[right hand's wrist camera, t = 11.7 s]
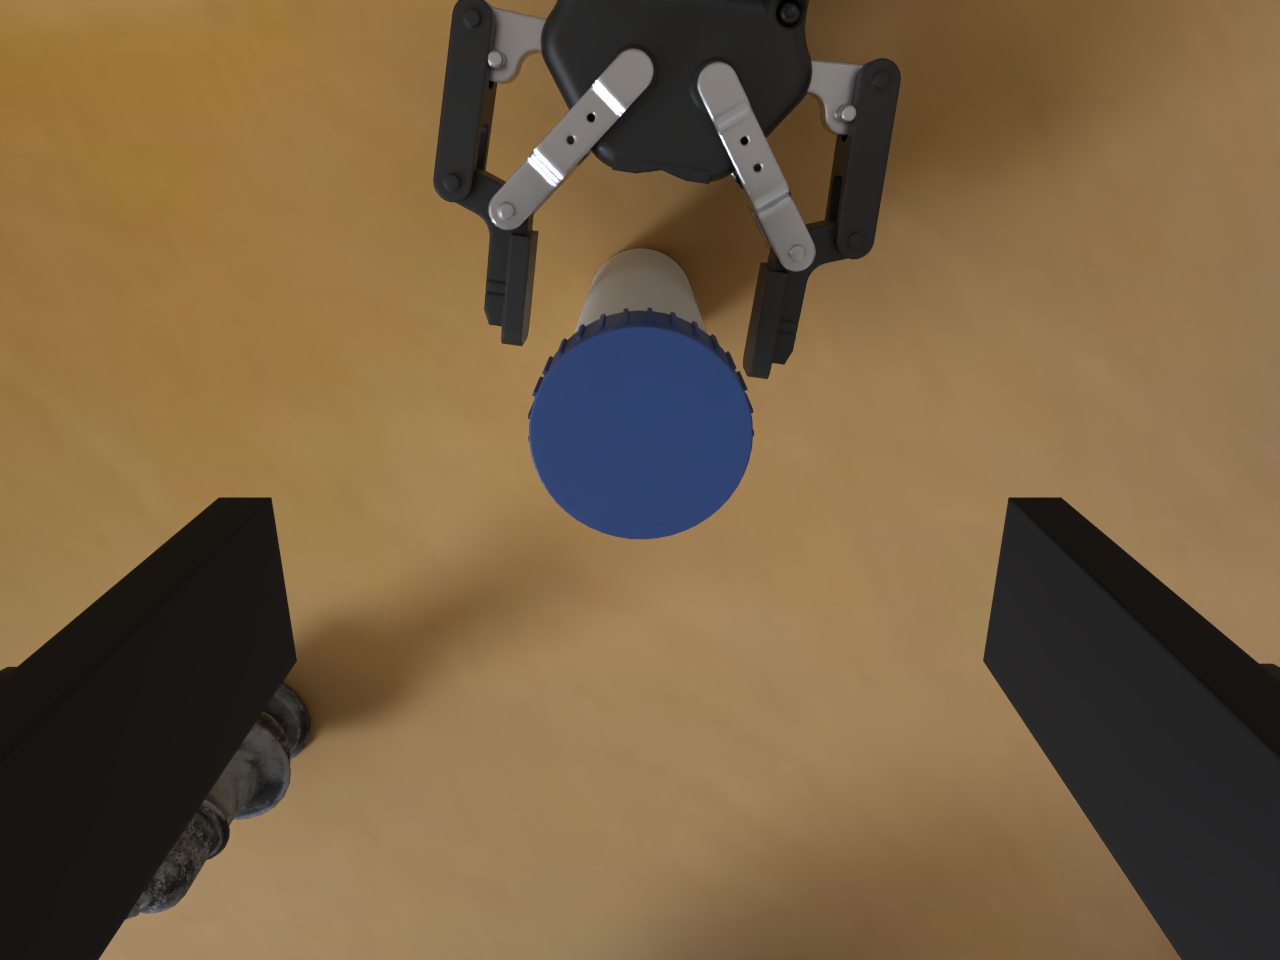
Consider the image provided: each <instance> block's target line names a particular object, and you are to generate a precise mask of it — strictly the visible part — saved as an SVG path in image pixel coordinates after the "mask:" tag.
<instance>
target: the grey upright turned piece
mask: <svg viewBox="0 0 1280 960" xmlns="http://www.w3.org/2000/svg"><path fill="white" fill-rule="evenodd" d="M309 732H310V721H309V716H308V712H307V710H306V708H305V707H304V705H303V703H302V701H301V700H300V699H299V698H298V697H297V696H296V695H295V693H294V692H293V691H292V690H290V689H289V688H287V687H286V686H284V685H283V684H281V685H280V687H279V688H278V690H277V691H276V693H275V694H274V696H273V697H272V699H271V700H270V702H269V703H268V705H267V706H266V708H265V709H264V711H263V712H262V714H261V715H260V717H259V718H258V720H257V721H256V723H255V724H254V726H253V727H252V729H251V730H250V732H249V733H248V735H247V736H246V738H245V740H244V741H243V743H242V744H241V746H240V747H239V749H238V750H237V752H236V753H235V755H234V756H233V758H232V759H231V761H230V762H229V764H228V765H227V767H226V768H225V770H224V771H223V773H222V774H221V776H220V777H219V779H218V780H217V782H216V783H215V785H214V786H213V788H212V789H211V791H210V792H209V794H208V795H207V797H206V798H205V800H204V801H203V803H202V804H201V806H200V807H199V809H198V810H197V812H196V813H195V815H194V816H193V818H192V819H191V821H190V822H189V824H188V825H187V827H186V828H185V830H184V831H183V833H182V834H181V836H180V837H179V839H178V840H177V842H176V843H175V845H174V846H173V848H172V849H171V851H170V852H169V854H168V855H167V857H166V858H165V860H164V861H163V863H162V864H161V866H160V868H159V869H158V871H157V872H156V874H155V875H154V877H153V878H152V880H151V881H150V883H149V884H148V886H147V887H146V889H145V890H144V892H143V893H142V895H141V896H140V898H139V899H138V901H137V902H136V904H135V905H134V907H133V908H132V910H131V911H130V913H129V914H128V916H127V917H126V919H128V918H132V917H135V916H137V915H139V912H140V913H157V912H161V911H164V910H167V909H169V908H171V907H173V906H175V905H176V904H177V903H178V902H179V901H180V900H181V899H182V898H183V897H184V896H185V894H186V893H187V891H188V889H189V888H190V886H191V884H192V883H193V881H194V879H195V878H196V876H197V875H198V873H199V871H200V870H201V868H202V866H203V865H204V863H205V861H206V860H208V859H211V858H213V857H214V856H216V855H218V854H219V853H220V852H221V851H222V850H223V849H224V848H225V846H226V844H227V842H228V839H229V831H230V829H229V825H230V824H231V822H232V820H235V819H248V818H252V817H255V816H259V815H262V814H264V813H265V812H267V811H269V810H270V809H272V808H274V807H275V806H276V805H277V804H278V803H279V802H280V800H281V799H282V798H283V797H284V795H285V793H286V791H287V788H288V786H289V784H290V773H291V769H290V759H292V758H293V757H295V756H296V755H297V754H298V753H299V752H300V751H301V750H302V749H303V748H304V746H305V744H306V742H307V739H308V737H309Z"/></svg>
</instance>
